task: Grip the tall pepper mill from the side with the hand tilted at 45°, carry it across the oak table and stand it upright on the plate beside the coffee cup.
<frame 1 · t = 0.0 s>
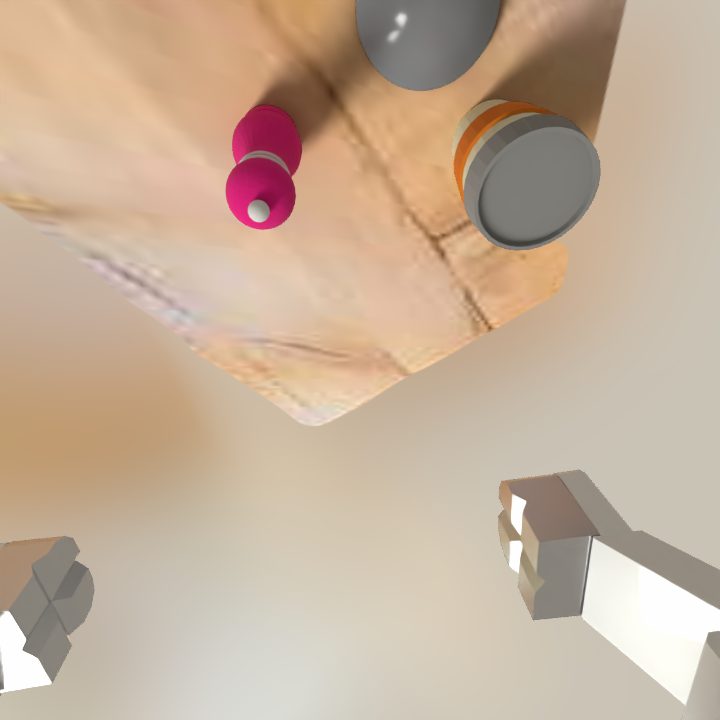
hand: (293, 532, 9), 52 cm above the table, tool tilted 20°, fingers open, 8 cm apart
pepper mill: (269, 134, 53), on the table
reusable coffee cup: (488, 140, 56), on the table
plate: (426, 7, 46), on the table
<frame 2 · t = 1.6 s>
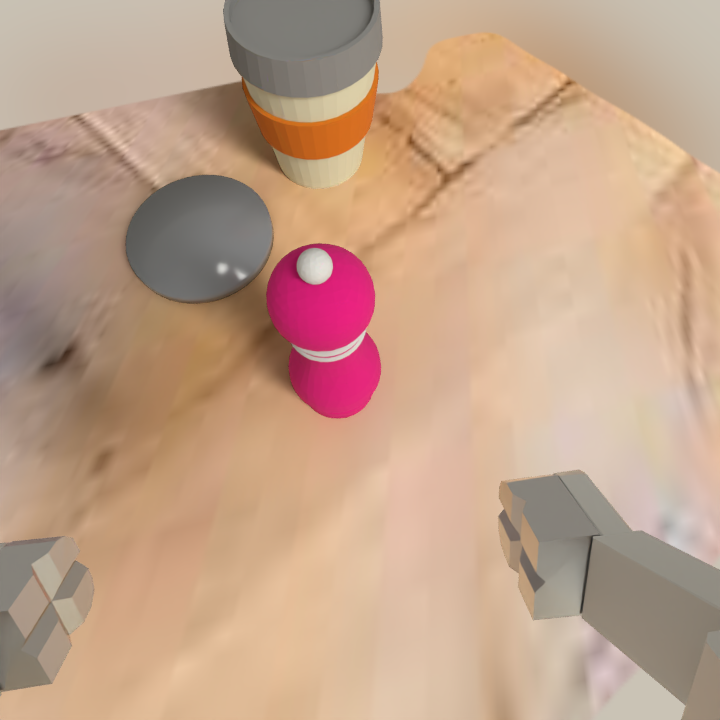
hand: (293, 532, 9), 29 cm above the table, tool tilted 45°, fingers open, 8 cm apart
pepper mill: (338, 384, 41), on the table
reusable coffee cup: (320, 156, 50), on the table
plate: (202, 240, 46), on the table
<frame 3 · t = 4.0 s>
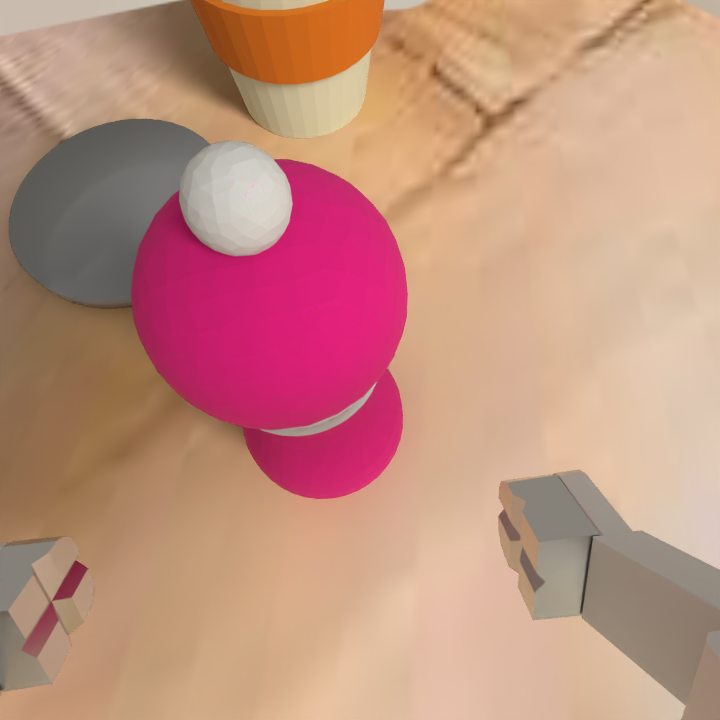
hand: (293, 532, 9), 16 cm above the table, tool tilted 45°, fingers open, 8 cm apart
pepper mill: (332, 436, 26), on the table
reusable coffee cup: (305, 94, 35), on the table
plate: (129, 213, 31), on the table
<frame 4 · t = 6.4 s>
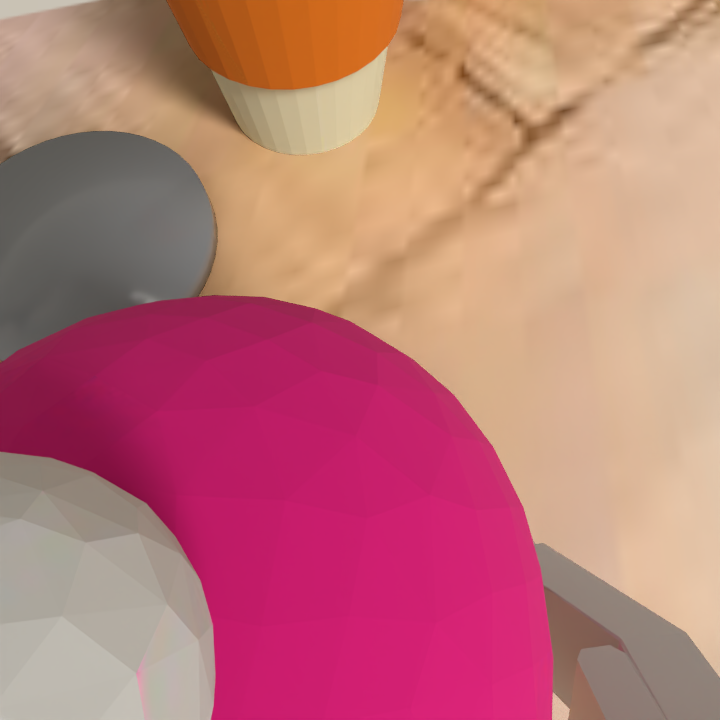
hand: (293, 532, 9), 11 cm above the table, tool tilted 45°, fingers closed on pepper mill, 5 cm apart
pepper mill: (338, 550, 20), on the table, touching gripper
reusable coffee cup: (306, 100, 29), on the table
plate: (86, 249, 25), on the table
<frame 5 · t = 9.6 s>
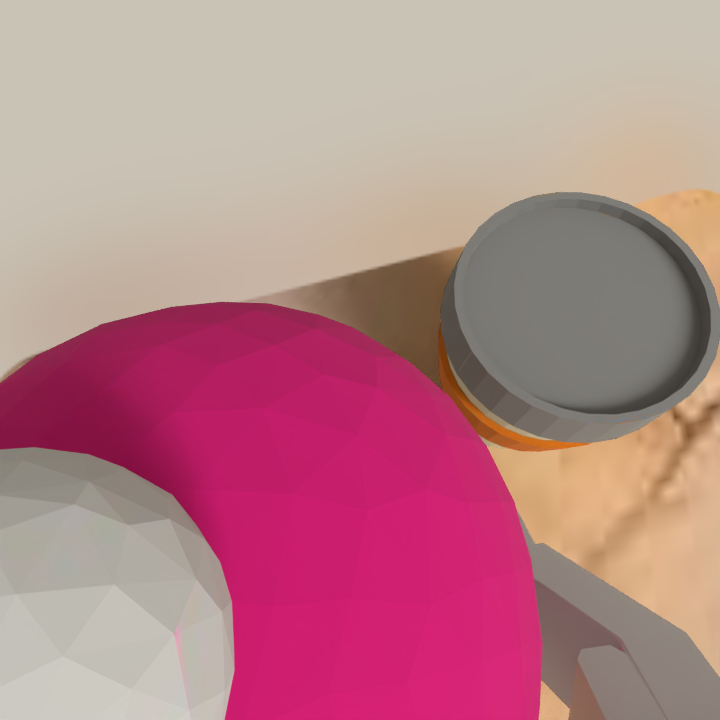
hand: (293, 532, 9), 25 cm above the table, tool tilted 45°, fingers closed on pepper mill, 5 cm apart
pepper mill: (338, 548, 20), point 13 cm above the table, touching gripper
reusable coffee cup: (501, 391, 36), on the table
when the fingers open (14 cm above the table, at t = 12.8 s): pepper mill stays where it is, resting on plate.
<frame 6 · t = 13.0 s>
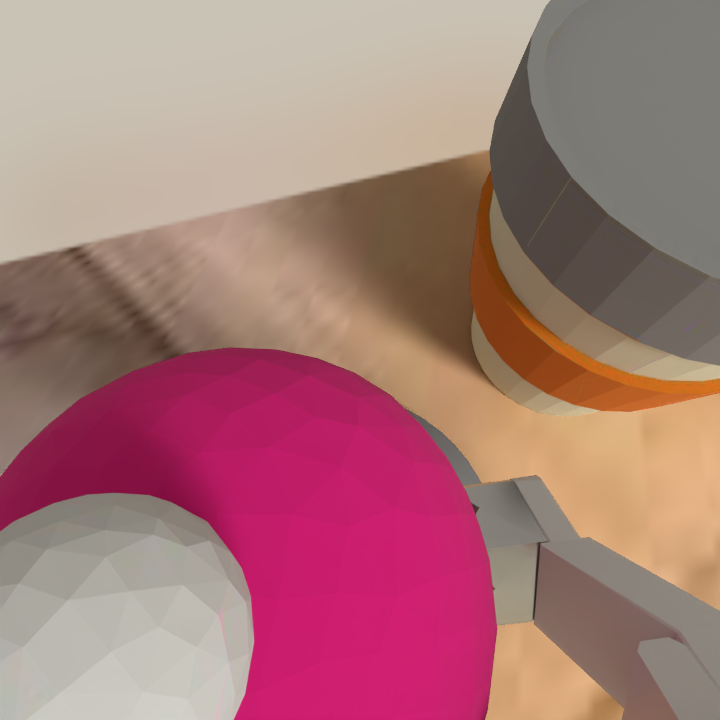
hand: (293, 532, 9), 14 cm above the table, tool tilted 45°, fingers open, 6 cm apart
pepper mill: (337, 549, 21), point 1 cm above the table, touching plate
reusable coffee cup: (553, 337, 25), on the table
plate: (342, 547, 22), on the table
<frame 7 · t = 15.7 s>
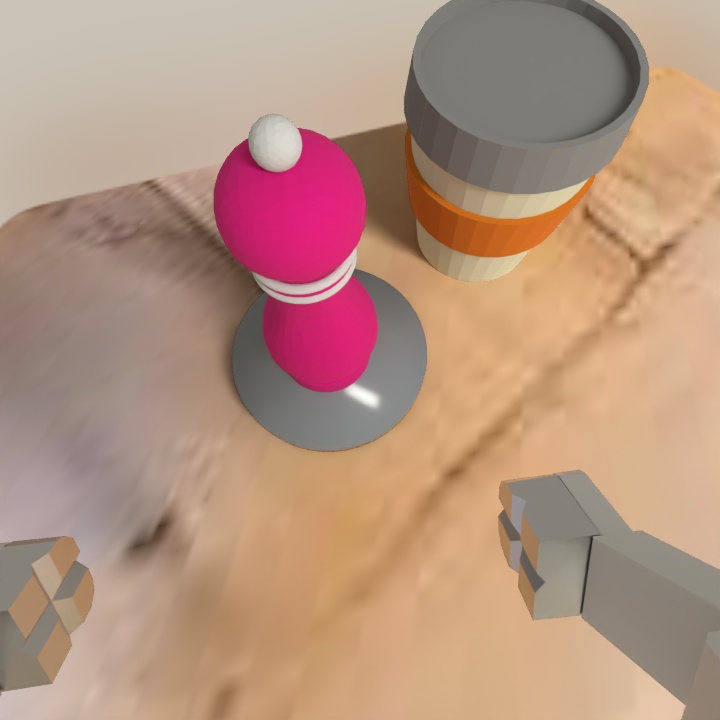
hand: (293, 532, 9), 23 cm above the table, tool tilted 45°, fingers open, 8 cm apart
pepper mill: (327, 352, 34), point 1 cm above the table, touching plate
reusable coffee cup: (471, 235, 38), on the table
plate: (330, 357, 35), on the table
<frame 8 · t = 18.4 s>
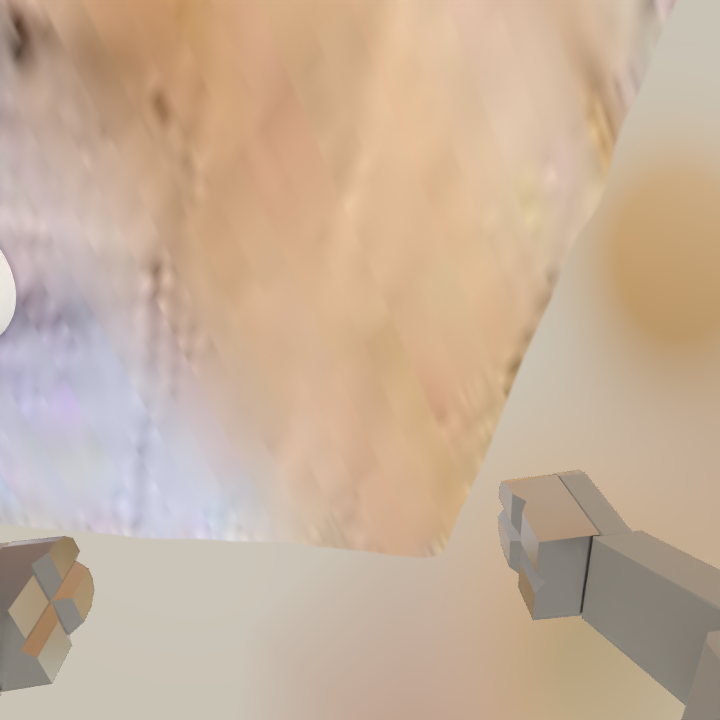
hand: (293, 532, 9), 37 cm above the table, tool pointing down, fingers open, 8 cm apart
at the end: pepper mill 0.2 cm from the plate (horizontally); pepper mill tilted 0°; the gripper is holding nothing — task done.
